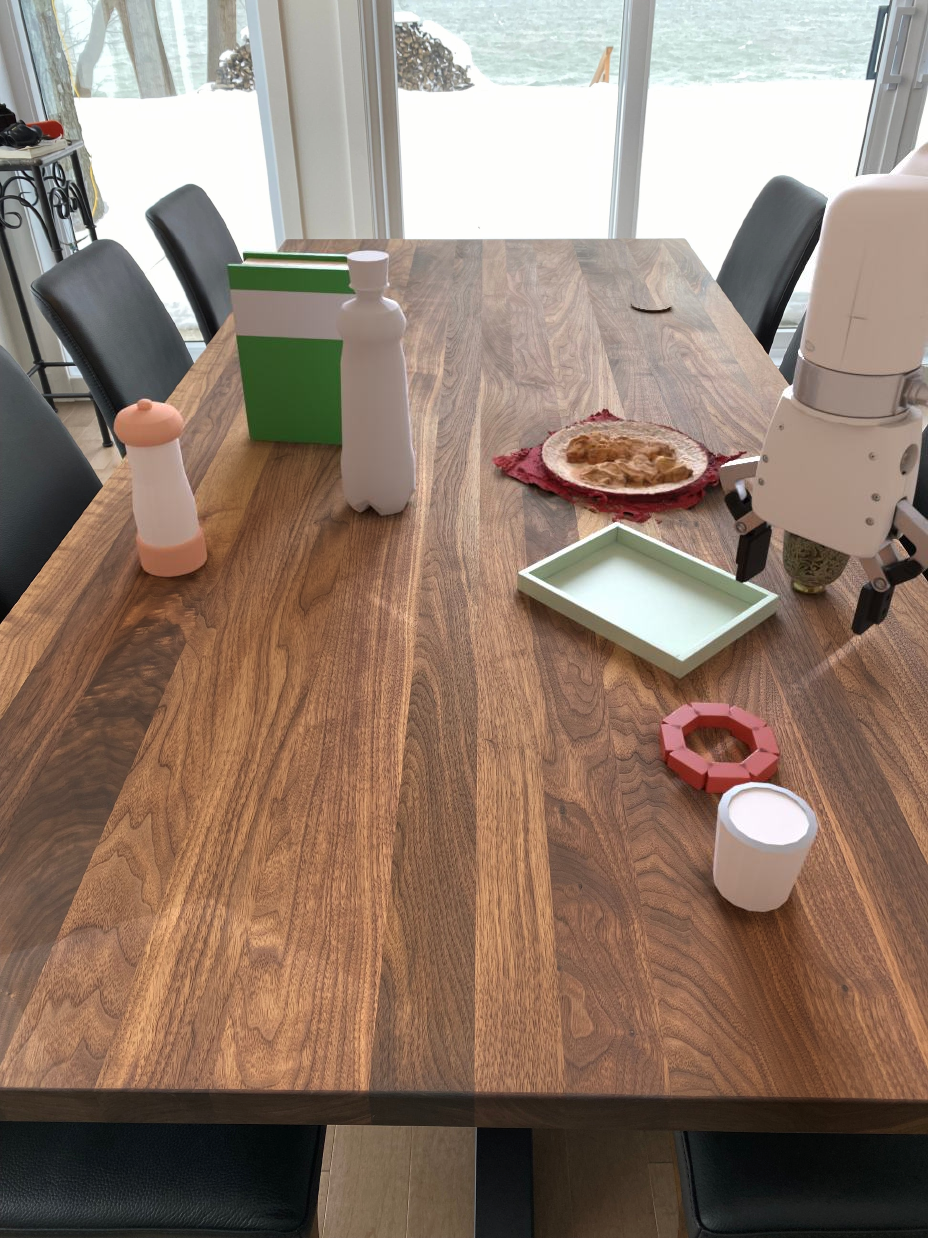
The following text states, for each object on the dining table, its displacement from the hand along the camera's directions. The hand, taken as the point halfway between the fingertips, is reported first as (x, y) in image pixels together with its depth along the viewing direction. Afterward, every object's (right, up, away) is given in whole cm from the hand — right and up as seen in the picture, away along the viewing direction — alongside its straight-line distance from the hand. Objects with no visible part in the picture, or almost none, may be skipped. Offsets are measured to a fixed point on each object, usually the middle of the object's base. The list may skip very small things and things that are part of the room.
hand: (805, 600), depth 74 cm
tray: (-7, 0, +30) cm, 31 cm away
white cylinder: (-4, -21, -1) cm, 22 cm away
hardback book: (-47, +25, +67) cm, 86 cm away
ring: (-4, -13, +11) cm, 17 cm away
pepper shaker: (-59, +5, +37) cm, 70 cm away
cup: (+11, +1, +33) cm, 35 cm away
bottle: (-36, +13, +49) cm, 63 cm away
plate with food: (-5, +18, +57) cm, 59 cm away
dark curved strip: (+11, +60, +117) cm, 132 cm away
